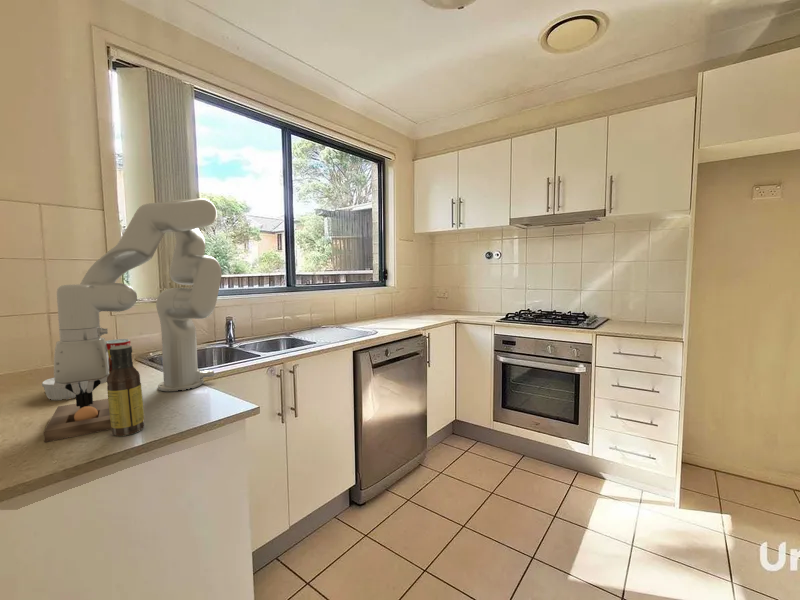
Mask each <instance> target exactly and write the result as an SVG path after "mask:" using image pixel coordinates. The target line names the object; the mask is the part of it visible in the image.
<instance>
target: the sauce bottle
mask: <svg viewBox="0 0 800 600" xmlns="http://www.w3.org/2000/svg"><path fill="white" fill-rule="evenodd" d="M132 353H133V346H132V345H131V346H117V347H113V348H110V355H111V359H112V370H111V372H110V374H109V375H108V377H107V382H106V384H107V388H106V391H107V399H108V402H109V412H110V421H111V427H112V429H111V434H112V435H113V436H116V437H126V435H127V436H130V435H134V434H137V433H138V432H140V431H142V430H143V429H144V427H145V422H144V420H145V414H144V413H145V411H144V404H143V402H144V401H143V392H142V391H143V390H142V388H143V387H142V383H141V375H140V372H139V371H138V370H137V368H136V367H135V366H134V362H133V357H132Z"/></svg>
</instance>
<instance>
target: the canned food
mask: <svg viewBox="0 0 800 600" xmlns="http://www.w3.org/2000/svg"><path fill="white" fill-rule="evenodd" d="M105 341H106V345H107V350H108V357H109V368H110V370H109V374H110V372H111V370H112V359H111V355H110V348H113V347H117V346H132V345H131V339H130V338H117V339H109V340H105Z"/></svg>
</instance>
